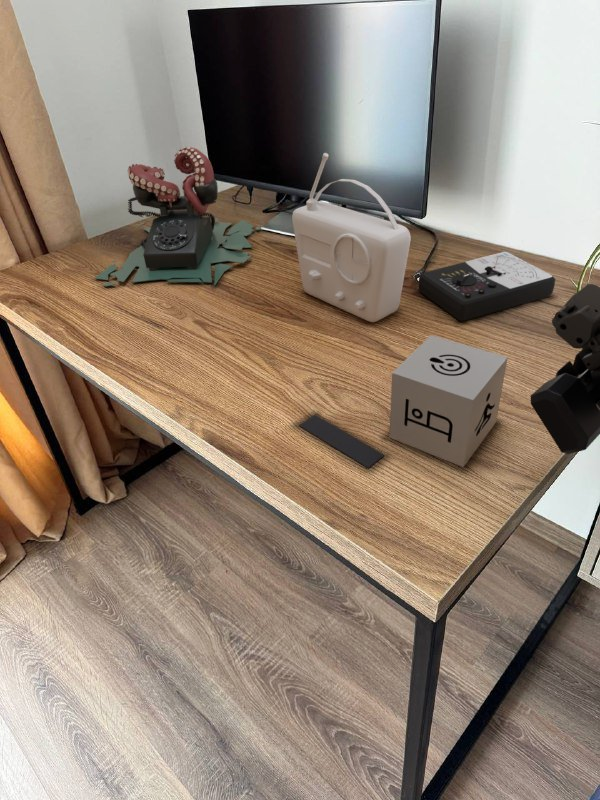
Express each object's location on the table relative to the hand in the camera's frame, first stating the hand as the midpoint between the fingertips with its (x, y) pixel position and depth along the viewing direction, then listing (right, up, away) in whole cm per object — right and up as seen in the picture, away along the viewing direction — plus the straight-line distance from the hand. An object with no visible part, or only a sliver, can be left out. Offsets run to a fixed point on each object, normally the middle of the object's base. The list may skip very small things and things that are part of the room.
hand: (534, 403), depth 63 cm
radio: (-17, +17, +41) cm, 48 cm away
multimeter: (+7, +19, +41) cm, 46 cm away
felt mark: (-20, -5, +12) cm, 24 cm away
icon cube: (-7, -4, +12) cm, 15 cm away
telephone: (-50, +33, +65) cm, 88 cm away
